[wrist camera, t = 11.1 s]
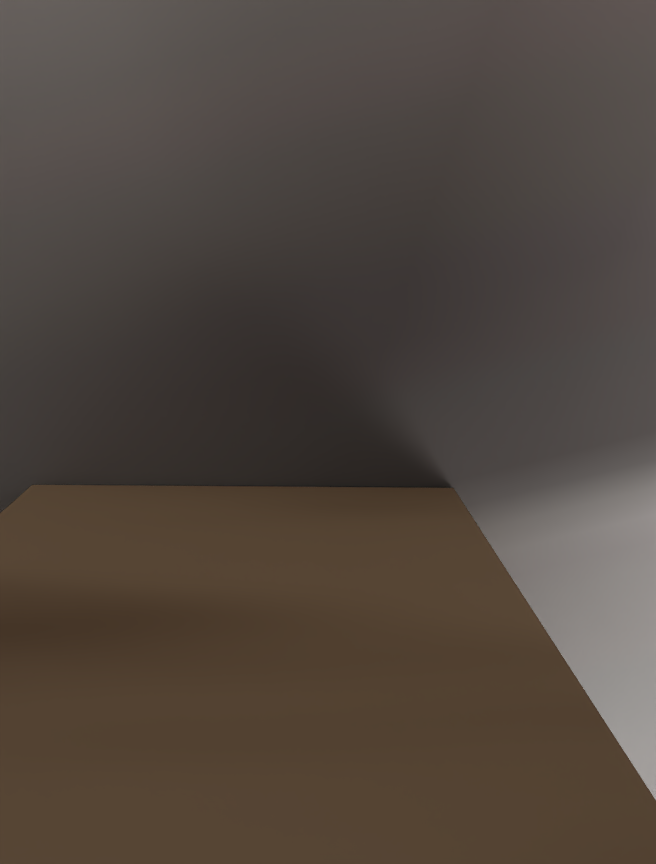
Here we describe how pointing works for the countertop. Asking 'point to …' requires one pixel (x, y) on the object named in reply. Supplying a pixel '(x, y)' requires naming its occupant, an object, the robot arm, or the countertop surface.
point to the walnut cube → (289, 687)
